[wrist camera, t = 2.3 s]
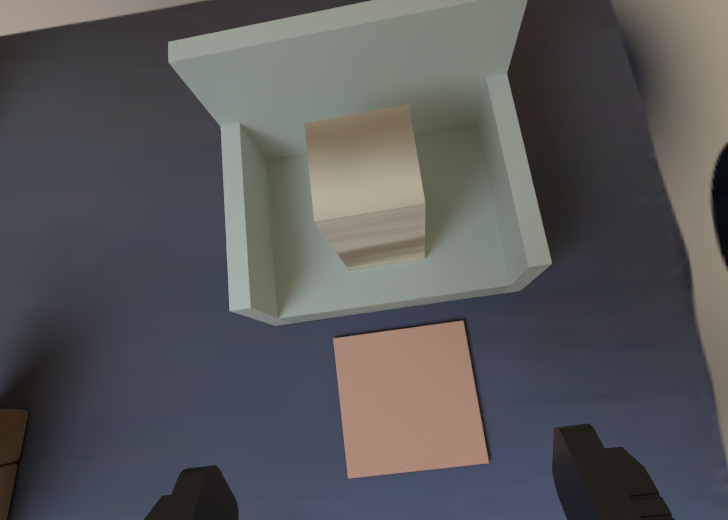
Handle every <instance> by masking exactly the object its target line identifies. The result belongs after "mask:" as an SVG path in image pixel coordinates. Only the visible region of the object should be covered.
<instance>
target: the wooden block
mask: <svg viewBox="0 0 728 520" xmlns="http://www.w3.org/2000/svg"><path fill="white" fill-rule="evenodd" d="M27 420H28V412H27V411H25V410H18V409H0V520H7V518H8V513H9V508H10V503H11V498H12V493H13V488H14V483H15V478H16V473H17V468H18V466H17V464H16V463H13V462H16V461H17V460H19V458H20V455H21V450H22V445H23V440H24V435H25V430H26V425H27Z"/></svg>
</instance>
